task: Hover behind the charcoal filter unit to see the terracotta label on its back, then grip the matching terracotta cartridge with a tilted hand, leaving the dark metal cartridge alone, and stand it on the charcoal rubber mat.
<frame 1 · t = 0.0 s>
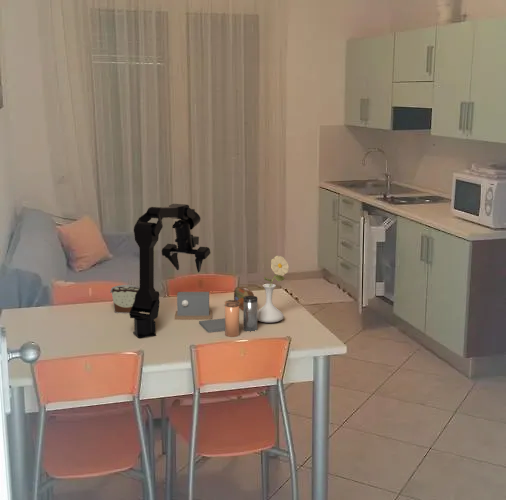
hand: (188, 270, 273), 15 cm above the table, tool pointing down, fingers open, 9 cm apart
tin: (244, 309, 276), on the table
filter unit: (193, 316, 266), on the table
food container: (128, 311, 272), on the table
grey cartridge: (250, 329, 251), on the table
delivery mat: (217, 326, 254), on the table
terracotta cartridge: (232, 334, 245), on the table
flower in vase: (270, 320, 262), on the table
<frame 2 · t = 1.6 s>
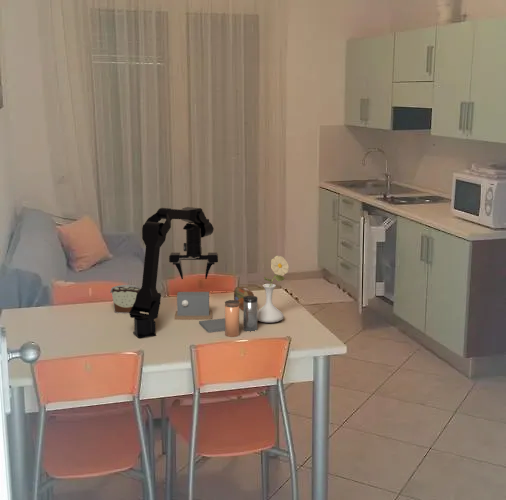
hand: (194, 278, 270), 13 cm above the table, tool pointing down, fingers open, 9 cm apart
nothing on the table moved.
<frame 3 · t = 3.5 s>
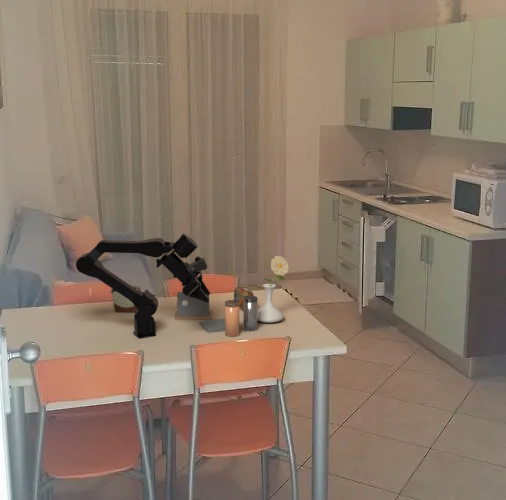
hand: (209, 297, 242), 13 cm above the table, tool tilted 45°, fingers open, 9 cm apart
nothing on the table moved.
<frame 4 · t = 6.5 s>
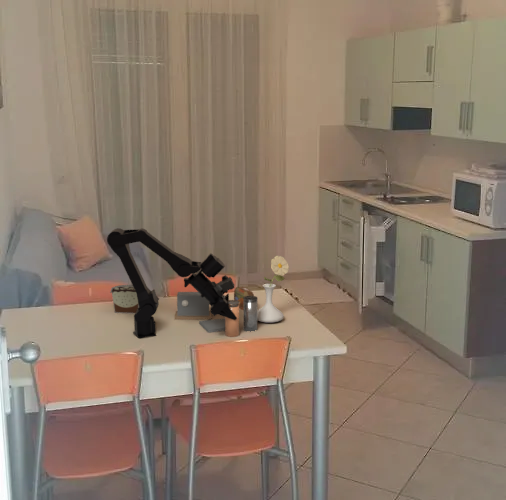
hand: (236, 316, 244), 7 cm above the table, tool tilted 45°, fingers closed on terracotta cartridge, 5 cm apart
terracotta cartridge: (232, 334, 245), on the table, touching gripper
everything else where it was.
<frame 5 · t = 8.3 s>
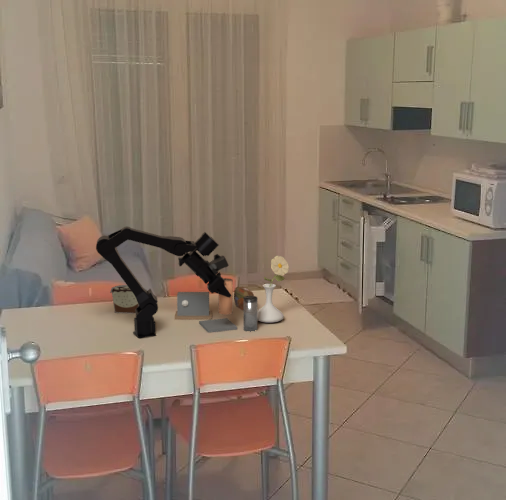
hand: (229, 294, 247), 13 cm above the table, tool tilted 45°, fingers closed on terracotta cartridge, 5 cm apart
terracotta cartridge: (225, 312, 248), point 7 cm above the table, touching gripper
everything else where it was.
when the fingers open (9 cm above the table, at t = 10.1 s): terracotta cartridge drops 1 cm, resting on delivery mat.
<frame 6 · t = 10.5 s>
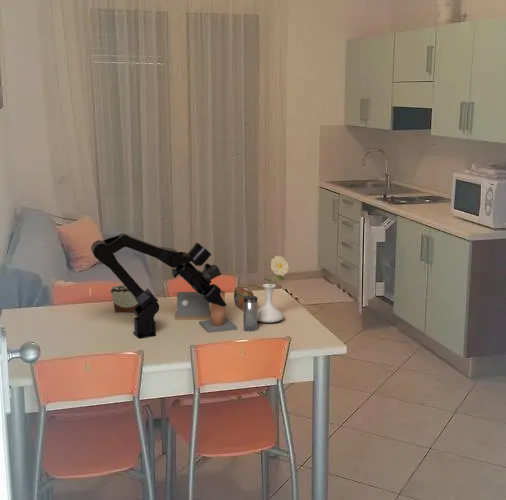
hand: (221, 302, 253), 9 cm above the table, tool tilted 45°, fingers open, 9 cm apart
terracotta cartridge: (217, 323, 254), point 1 cm above the table, touching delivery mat
everything else where it was.
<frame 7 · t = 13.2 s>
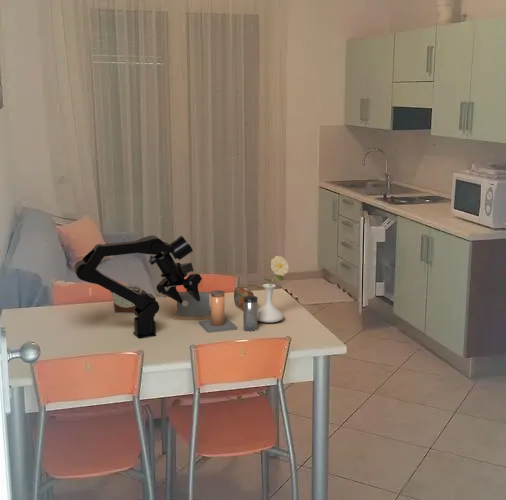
hand: (190, 301, 249), 10 cm above the table, tool tilted 30°, fingers open, 9 cm apart
nothing on the table moved.
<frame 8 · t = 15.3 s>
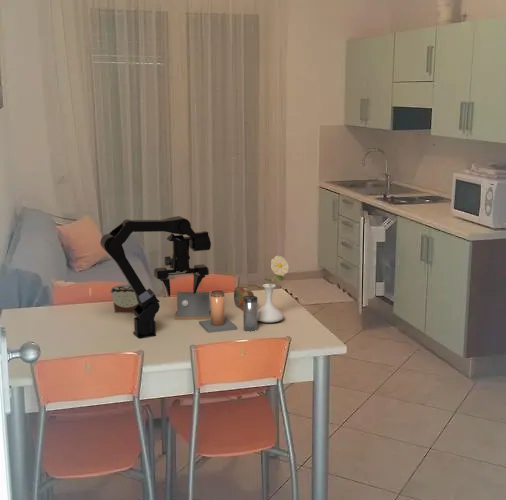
hand: (181, 295, 247), 13 cm above the table, tool pointing down, fingers open, 9 cm apart
nothing on the table moved.
at the end: terracotta cartridge inside the target area on the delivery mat (0.1 cm from its centre), point 1.0 cm above the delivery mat's base; terracotta cartridge tilted 0°; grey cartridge moved 0.0 cm from its start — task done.
